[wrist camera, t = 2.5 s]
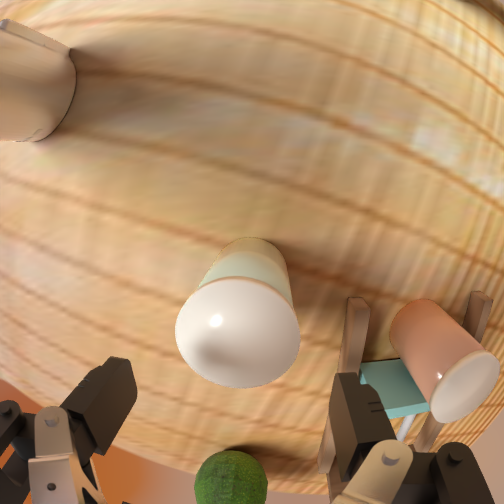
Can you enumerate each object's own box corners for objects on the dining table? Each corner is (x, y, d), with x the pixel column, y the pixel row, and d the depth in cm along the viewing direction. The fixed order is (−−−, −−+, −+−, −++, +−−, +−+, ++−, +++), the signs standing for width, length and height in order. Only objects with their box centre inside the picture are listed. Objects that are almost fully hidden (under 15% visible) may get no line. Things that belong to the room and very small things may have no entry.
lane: (348, 297, 22) (379, 352, 15) (479, 290, 22) (529, 326, 14) (315, 463, 28) (320, 514, 20) (417, 447, 27) (435, 489, 20)
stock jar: (394, 299, 22) (451, 364, 13) (447, 296, 22) (510, 349, 12) (382, 356, 24) (421, 430, 14) (433, 350, 23) (480, 412, 14)
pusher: (358, 363, 24) (377, 410, 17) (452, 351, 23) (482, 386, 17) (343, 422, 26) (353, 468, 19) (429, 408, 25) (449, 446, 19)
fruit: (271, 469, 29) (269, 547, 17) (210, 469, 30) (195, 543, 18) (265, 434, 27) (260, 528, 15) (195, 434, 28) (170, 520, 16)
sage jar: (211, 235, 22) (168, 280, 12) (289, 236, 22) (304, 283, 12) (214, 306, 23) (183, 383, 14) (287, 308, 23) (295, 389, 13)
